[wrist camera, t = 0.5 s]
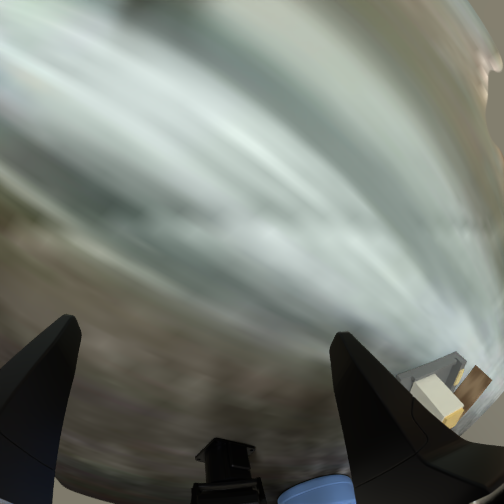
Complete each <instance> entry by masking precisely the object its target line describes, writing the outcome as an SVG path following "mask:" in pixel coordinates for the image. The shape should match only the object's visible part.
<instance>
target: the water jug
mask: <svg viewBox="0 0 504 504" xmlns="http://www.w3.org/2000/svg"><path fill="white" fill-rule="evenodd" d="M278 504H356V499H355V493H354V487H353V483H352V481H351V479H350V478H349V477H348V476H346V475H340V474H336V475H327V476H322V477H318V478H314V479H311V480H308V481H305V482H303V483H300V484H298V485H295V486H293V487H291V488H290V489H288V490H286V491H285V492H283V493H282V494H281V495H280V497H279V498H278Z"/></svg>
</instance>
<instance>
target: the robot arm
mask: <svg viewBox="0 0 504 504" xmlns="http://www.w3.org/2000/svg"><path fill="white" fill-rule="evenodd" d="M81 336H82V335H81V330H80V327H79V325H78V322H77V320H76V318H75V316H73V315H68V314H64V315H62V316H61V317H60V318H58V319H57V320H56V321H55V322H54V323H52V324H51V325H50V326H49V327H48V328H46V329H45V330H44V331H43V332H42V333H40V334H39V335H38V336H37V337H36V338H34V339H33V340H32V341H31V342H30V343H29V344H27V345H26V346H25V347H24V348H23V349H22V350H21V351H19V352H18V353H17V354H16V355H15V356H14V357H13V358H12V359H10V360H9V361H8V362H7V363H6V364H5V365H4V366H3V367H2V368H1V369H0V504H52V498H53V487H54V477H55V468H56V460H57V454H58V447H59V441H60V436H61V431H62V425H63V421H64V416H65V411H66V407H67V402H68V398H69V394H70V390H71V386H72V382H73V379H74V374H75V369H76V364H77V358H78V352H79V347H80V342H81ZM329 353H330V361H331V370H332V379H333V387H334V393H335V398H336V402H337V407H338V411H339V416H340V421H341V425H342V430H343V435H344V440H345V445H346V450H347V455H348V460H349V465H350V470H351V476H352V481H353V487H354V493H355V499H356V504H504V447H502V446H494V445H486V444H479V443H473V442H469V441H466V440H464V439H463V438H461V437H460V436H458V435H457V434H456V433H455V432H453V431H452V430H451V429H450V428H449V427H447V426H446V425H445V424H444V423H442V422H441V421H440V420H439V419H438V418H436V417H435V416H434V415H433V414H432V413H431V412H430V411H428V410H427V409H426V408H425V407H424V406H423V405H422V404H421V403H420V402H419V401H418V400H417V399H416V398H415V397H413V395H412V394H411V393H410V392H409V391H408V390H407V389H406V388H405V387H404V386H403V385H402V384H401V383H400V382H399V381H398V380H397V379H396V378H395V377H394V376H393V375H392V374H391V373H390V372H389V371H388V370H387V369H386V368H385V367H384V366H383V365H382V364H381V363H380V362H379V361H378V360H377V359H376V358H375V357H374V356H373V355H372V354H371V353H370V352H369V351H368V350H367V349H366V348H365V347H364V346H363V345H362V344H361V343H360V342H359V341H358V340H357V339H356V338H355V337H354V336H353V335H352V334H351V333H350V332H348V331H343V332H337V333H336V335H335V337H334V339H333V341H332V344H331V346H330V350H329ZM254 451H255V447H254V446H249V445H244V444H240V443H235V442H231V441H227V440H223V439H219V438H214V439H213V440H212V441H211V442H210V443H209V444H208V445H207V446H206V447H205V448H204V449H203V450H202V451H201V452H200V453H199V454H198V455H197V456H196V457H195V460H196V461H200V462H204V463H205V471H206V483H194V485H193V488H191V490H192V499H191V503H190V504H267V502H266V498H265V494H264V490H263V486H262V482H261V478H260V477H258V478H255V479H252V478H251V473H250V469H251V468H250V463H249V457H248V456H249V455H250V454H252V453H253V452H254Z"/></svg>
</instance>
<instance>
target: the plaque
mask: <svg viewBox="0 0 504 504" xmlns="http://www.w3.org/2000/svg"><path fill="white" fill-rule="evenodd" d="M491 381H492V380H491V379H490V378H489V377H488V376H487V375H486V374H485V373H484V372H483V371H482V370H481V369H480V368H478V367H477V366H476V365H475V367H474V368H473V369H472V371H471V372H470V373H469V375H468V376H467V377H466V378H465V380H464V381H463V382H462V384H461V385H460V386H459V387H458V388H457V390H456V391H455V392H454V393H453V394H454V395H455V396H456V397H457V398H458V399H459V400H460V401H461V402H462V403H463V405H464V406H463V409H464V411H463V413H462V415H461V416H460V418H461V417H462V416H463V415H464V414H465V413H466V412H467V411H468V409H469V408H470V407H471V406H472V405H473V404H474V402H475V401H476V400H477V399H478V398H479V396H480V395H481V394H482V393H483V391H484V390H485V389H486V388H487V386H488V385H489V384H490V382H491ZM460 418H459V420H460ZM459 420H458V421H459ZM458 421H457V422H458ZM450 429H451V428H450Z"/></svg>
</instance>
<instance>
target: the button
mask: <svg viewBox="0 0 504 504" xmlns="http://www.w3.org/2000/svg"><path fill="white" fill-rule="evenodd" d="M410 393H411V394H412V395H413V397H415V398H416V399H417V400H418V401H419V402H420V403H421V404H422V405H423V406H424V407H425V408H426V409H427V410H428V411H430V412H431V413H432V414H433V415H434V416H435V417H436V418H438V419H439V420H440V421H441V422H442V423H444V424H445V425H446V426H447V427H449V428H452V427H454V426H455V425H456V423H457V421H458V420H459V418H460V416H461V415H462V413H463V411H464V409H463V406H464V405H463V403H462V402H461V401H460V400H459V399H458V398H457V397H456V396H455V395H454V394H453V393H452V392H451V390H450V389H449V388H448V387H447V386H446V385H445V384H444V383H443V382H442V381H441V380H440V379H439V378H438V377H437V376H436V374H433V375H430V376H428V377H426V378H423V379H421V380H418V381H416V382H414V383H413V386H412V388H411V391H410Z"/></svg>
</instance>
